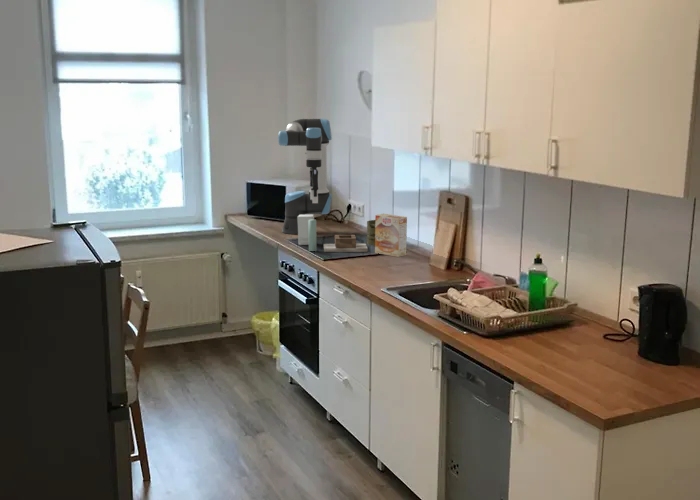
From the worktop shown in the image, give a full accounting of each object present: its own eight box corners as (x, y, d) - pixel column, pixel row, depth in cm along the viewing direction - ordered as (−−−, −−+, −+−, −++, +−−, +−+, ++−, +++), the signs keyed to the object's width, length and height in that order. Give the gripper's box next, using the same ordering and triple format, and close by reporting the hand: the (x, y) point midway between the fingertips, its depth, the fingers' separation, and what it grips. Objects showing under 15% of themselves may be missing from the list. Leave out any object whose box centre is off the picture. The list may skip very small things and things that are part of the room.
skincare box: (315, 242, 408) (314, 214, 405) (313, 245, 402) (313, 216, 398) (299, 242, 409) (299, 214, 406) (297, 245, 402) (297, 216, 399)
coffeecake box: (374, 253, 384) (374, 214, 380) (382, 250, 389) (383, 213, 385) (398, 257, 374) (399, 218, 370) (406, 254, 380) (407, 216, 376)
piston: (382, 224, 397) (363, 222, 402) (382, 246, 399) (363, 244, 404) (391, 221, 406) (372, 219, 412) (391, 243, 409) (372, 241, 414)
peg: (308, 250, 390) (308, 219, 386) (316, 250, 390) (316, 219, 387) (308, 251, 386) (308, 220, 382) (316, 251, 386) (316, 220, 383)
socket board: (323, 246, 399) (323, 234, 398) (365, 246, 400) (365, 233, 399) (324, 252, 385) (324, 239, 384) (367, 251, 387) (367, 239, 385)
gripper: (304, 157, 391) (304, 198, 395) (308, 161, 366) (308, 204, 370) (319, 157, 391) (319, 198, 396) (323, 161, 367) (323, 204, 371)
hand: (314, 201), depth 383 cm, fingers open, 13 cm apart
